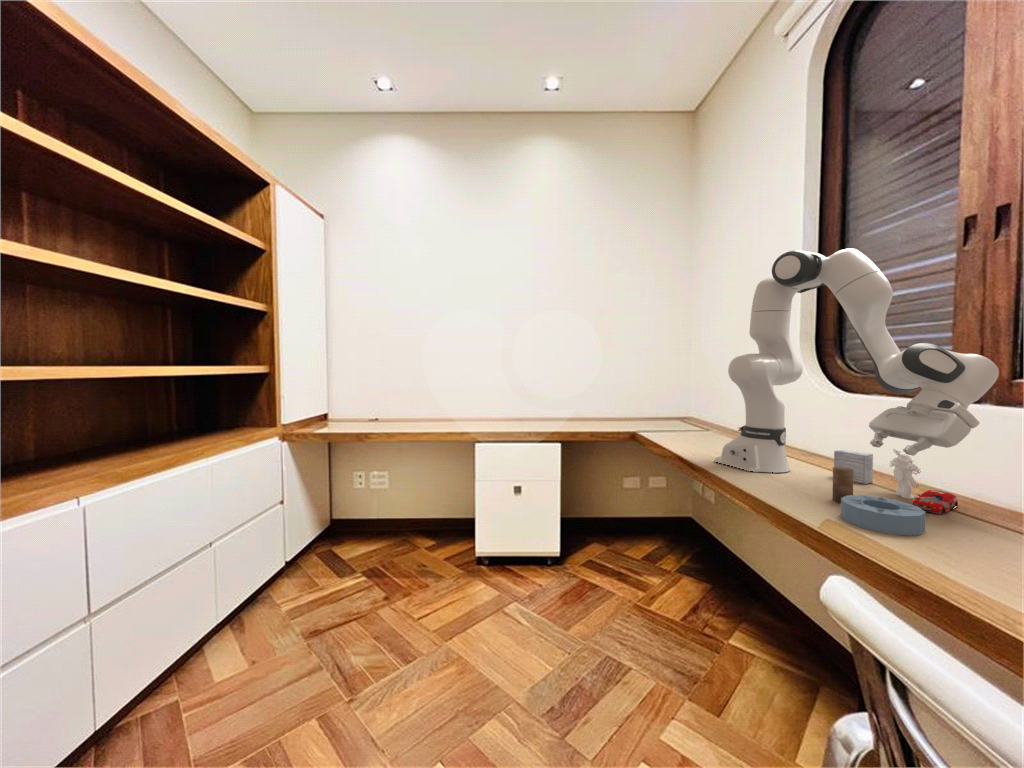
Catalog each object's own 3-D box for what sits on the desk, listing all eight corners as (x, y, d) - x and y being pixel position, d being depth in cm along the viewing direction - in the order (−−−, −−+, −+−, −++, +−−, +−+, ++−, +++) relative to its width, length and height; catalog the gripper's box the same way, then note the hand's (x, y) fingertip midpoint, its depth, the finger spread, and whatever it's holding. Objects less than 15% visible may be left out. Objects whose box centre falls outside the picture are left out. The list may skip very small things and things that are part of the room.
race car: (940, 518, 89) (940, 500, 89) (907, 510, 94) (908, 494, 93) (963, 507, 94) (963, 491, 94) (931, 501, 99) (932, 485, 99)
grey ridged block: (873, 482, 115) (873, 453, 114) (865, 484, 113) (866, 455, 112) (841, 476, 122) (841, 448, 121) (833, 478, 120) (833, 450, 119)
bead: (831, 519, 88) (832, 501, 88) (855, 508, 95) (855, 491, 94) (912, 540, 77) (912, 520, 77) (932, 526, 84) (932, 507, 83)
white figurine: (884, 490, 107) (885, 447, 107) (902, 491, 106) (903, 447, 106) (906, 501, 99) (907, 454, 98) (926, 502, 98) (927, 455, 97)
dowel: (829, 501, 100) (830, 468, 100) (836, 498, 102) (836, 466, 102) (849, 505, 96) (849, 471, 96) (855, 502, 98) (856, 469, 98)
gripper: (886, 398, 107) (848, 433, 108) (967, 405, 87) (919, 448, 88) (903, 414, 107) (864, 449, 108) (988, 424, 87) (940, 468, 88)
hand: (889, 449), depth 98 cm, fingers open, 8 cm apart
